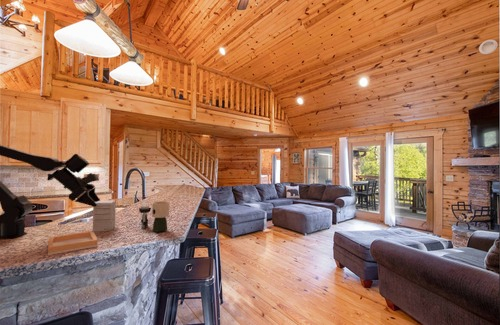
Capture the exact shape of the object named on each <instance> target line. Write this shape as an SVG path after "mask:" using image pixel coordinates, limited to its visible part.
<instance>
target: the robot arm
mask: <svg viewBox="0 0 500 325" xmlns="http://www.w3.org/2000/svg"><path fill="white" fill-rule="evenodd" d="M0 156H1V157H5V158H8V159H12V160H16V161H19V162H22V163H25V164H26V163H27V164H29V165H31V166H32V167H34V168H36V169H39V170H41V171H43V172H52V173H48V174H47V178H46V180H47V181H53V180H56V181H57V182H58V183H60V184H61V185H62V186H63V188H64V189H67V190H68V191H69V192H70V193H69V194H68V199H69V200H70V201H71V202H74V203H79V204H82V205H86V206H87V205H88V206H89V207H90V206H91V207H93V206H94V207H95V206H97V204H96V203H95V202H97V201H102V200H101V199H100V198H99V195H98V194H97V193H96V186H95V185H94V184H93V183H92V182H95V181H96V182H97V181H98V180H99V179H98V176H97V174H96V173H92V172H90V173H88V174H86V176H84V177H80V176H76V175H75V173H77V174H79V173H81V171H83V170H84V169H85V168H86V167H88V166H89V165H90V163H89V161H88V160H86V159H85V158H84V157H82V156H81V155H79V154H78V153H74V154H73V155H72V156H71V157H70V158H68V159H67V160H66V161H64V160H59V159H57V158H55V157H50V156H44V155H43V156H42V155H36V154H32V153H29V152H25V151H21V150H19V149H16V148H11V147H9V146H5V145H2V144H0ZM31 203H32V201H30V200H28V198H27V197H26V196H25V195H24V194H23V195H19V196H18V195H16V194H14V193H13V192H12V191H11V190H10V189H9V188H8V187H7V186H6V185H5V184H4V183H3V181H1V180H0V207H1V210H2V211H3V213H2V214H0V239H14V238H18V237H20V236H23V235H26V234H28V232H26V231H25V230H26V229H25V227H26V223H25V218H26V216H27V215H28V214H30V212H31V211H32V209H33V205H32V204H31Z"/></svg>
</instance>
